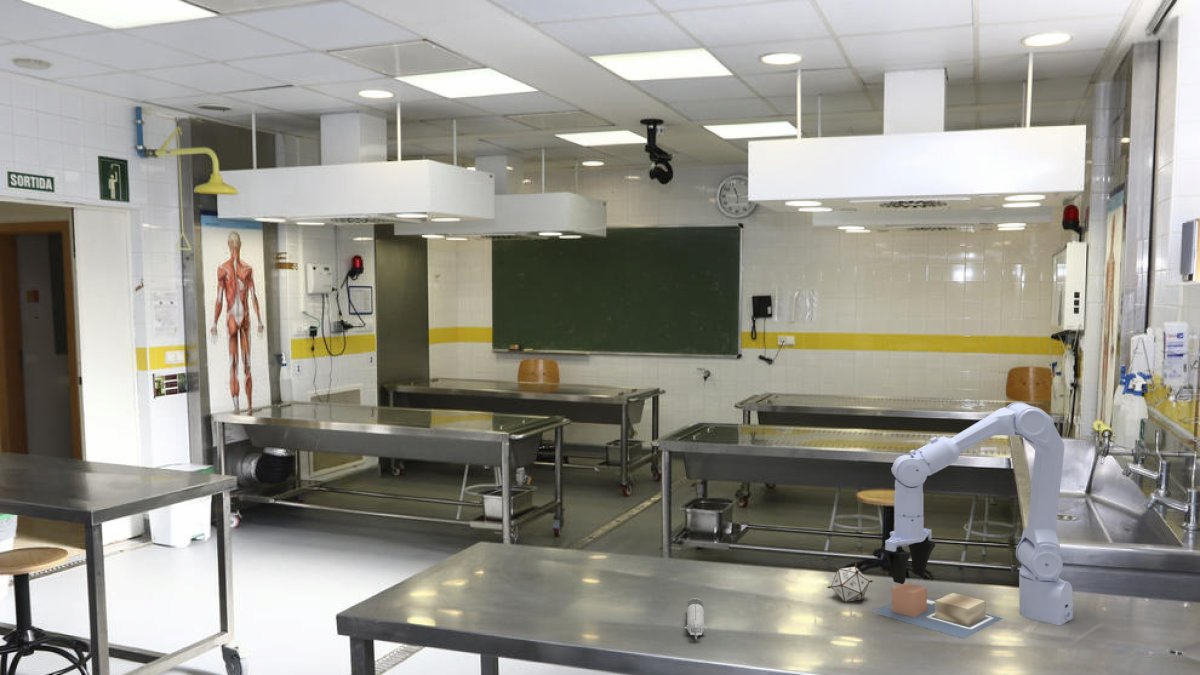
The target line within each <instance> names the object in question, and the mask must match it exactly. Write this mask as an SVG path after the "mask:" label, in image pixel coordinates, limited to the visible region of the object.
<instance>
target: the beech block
mask: <svg viewBox="0 0 1200 675" xmlns="http://www.w3.org/2000/svg"><path fill="white" fill-rule="evenodd" d="M934 600H935V618H939V619H943V620H946V621H950V622H953V623H957V624H961V625H964V626H970V625H972V624H974V623H976V622H978V621H980V620H982V619H984V618H985V613H986V600H983V599H978V598H976V597H971V596H967V595H962V594H959V593H954V592H952V593H949V594H947V595H945V596H942V597H941V598H937V599H934Z"/></svg>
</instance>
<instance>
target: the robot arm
mask: <svg viewBox="0 0 1200 675" xmlns="http://www.w3.org/2000/svg"><path fill="white" fill-rule="evenodd" d="M1054 422H1055V421H1054V418H1052V416H1050V415H1049V414H1048V413H1047V412H1045V410H1043V409H1041V408H1040V407H1036V406H1032V405H1029V404H1027V403H1026V402H1022V401H1015V402H1011V403H1010V404H1008V405H1007V406H1006V407H1000V408H999V409H997V410H995V411H993V412H992V413H990V414H988V416H985V417H984V418H982V419H981V420H979V421H978V422H975V423H974V424H972V425H971V426H969V427H967V428H966V429H964V430H962V431H961V432H959V433H958V434H956V435H954V436H953V437H946V436H940V437H936V436H933V437H931V438H930V439H929V441H930V442H928V443H926V444H925V445H924V446H922V447H919V448H918V449H916V450H915V449H911V450H909V453H910V455H909V454H903V455H901V456H898V457H897V458H896V459H895V460H894V462H893V464H892V467H891V469H890V470H891V473H892V475H893V476H894V477H895V479H894V494H893V495H894V498H893V499H894V503H893V504H894V506H893V508H894V509H893V510H894V530H892V531H890V532H889V536H890V537H889V538H888V539H886V540H885V545H884V546H882V550H881V553H882V554H883V555H884V557H885V558H886V561H887V562H888V565H889V569H890V572H891V576H892V580H893V582H894V583H896V584H904V582H906V578H907V568H908V563H909V559H910V557H911V566H912V567H911V568H912V574H913V575H916V576H921V577H924V576H925V574H926V570H927V565H928V561H929V560H930V557H931V554H932V551H933V550H934V548H935V547H936V542H935V541H933V540H931V539H932V538H933V537H932V529H929V528H925V526H924V524H925V522H924V519H925V517H924V490H923V489H924V483H925V481H926V480H927V477H928V476H932V475H933V474H936V473H937V472H940V471H941V470H943V469H945V468H947V467H948V466H950V465H952V464H954V463H956V462H958V460H959V456H960V453H962V452H964V451H965V450H967V449H970V448H972V447H974V446H976V445H978V444H980V443H982V442H984V441H986V440H989V439H991V438H992V437H994V436H997V435H998V436H1009V437H1010V436H1012V437H1014V436H1016V435H1019V436H1020V437H1021V438H1023V439H1024V440H1025V442H1027V444H1029V445H1030V446H1031V447H1032V448H1033V449H1034V460H1033V461H1034V462H1033V469H1032V478H1031V480H1032V481H1031V488H1030V489H1031V490H1030V498H1029V508H1028V518H1027V525H1026V527H1025V528H1024V529H1023V531H1022V536H1021V539H1020V541H1019V542H1018V544H1017V546H1016V549H1015V556H1016V558H1017V560H1018V562H1019V563H1020V564H1021V567H1020V569H1019V572H1018V574H1019V575H1018V576H1019V579H1018V580H1019V581H1018V582H1019V584H1018V585H1019V586H1018V587H1019V588H1018V589H1019V591H1018V592H1019V596H1018V597H1019V598H1018V599H1019V604H1018V605H1019V606H1018V608H1019V609H1018V613H1019V615H1020V616H1021V617H1023V618H1025V619H1029V620H1031V621H1037V622H1043V623H1047V624H1051V625H1055V626H1056V625H1057V626H1062V625H1064V624H1066V623H1067V622H1069V621H1071V620H1073V619H1074V593H1073V592H1074V591H1073V586H1072V583H1070V581H1066V580H1063V579H1062V578H1060V577H1059V575H1060V574H1061V572H1062V571H1063V568H1064V567H1063V566H1064V563H1063V558H1062V556H1061V554H1060V553H1061V552H1060V541H1059V538H1058V535H1057V532H1056V531H1057V530H1056V529H1057V522H1058V513H1059V503H1060V493H1061V484H1062V483H1061V482H1062V474H1063V464H1064V456H1065V443H1064V441H1063V439H1062V437H1061V435H1060V434H1059V431H1058V430H1057V429H1058V428H1056V426H1055V423H1054ZM907 546H908V548H909V551H906V550H905V549H904V547H907Z"/></svg>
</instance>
